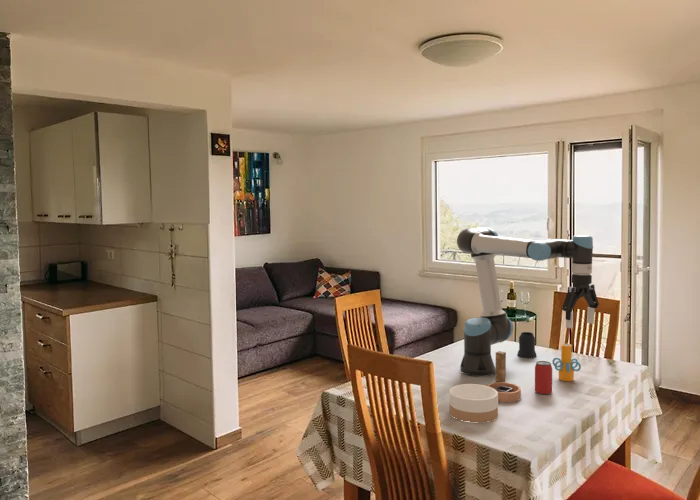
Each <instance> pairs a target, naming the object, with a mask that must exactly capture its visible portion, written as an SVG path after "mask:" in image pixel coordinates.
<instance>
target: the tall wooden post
mask: <svg viewBox="0 0 700 500" xmlns="http://www.w3.org/2000/svg"><path fill="white" fill-rule="evenodd" d="M506 353H507V351H501V350H498V351H496V352H495V383H496V382H506V381H507V380H506V379H507V378H506V377H507V374H506V373H507V368H506V367H507V365H506V364H507V363H506V362H507V354H506ZM506 383H507V382H506Z"/></svg>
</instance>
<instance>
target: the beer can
mask: <svg viewBox="0 0 700 500" xmlns="http://www.w3.org/2000/svg"><path fill="white" fill-rule="evenodd" d="M534 391H535V393H537V394H539V395H550V394H552V393H553V366H552V362H550V361H548V360H547V361H546V360H537V361H536V362H535V365H534Z"/></svg>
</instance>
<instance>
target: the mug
mask: <svg viewBox="0 0 700 500" xmlns="http://www.w3.org/2000/svg"><path fill="white" fill-rule="evenodd" d="M518 344H519V345H518V346H519V347H518V351H517V354H516V355H517V357H518V358H522V359H535V358H537V357H538V356H537V353H536V350H535V349H536V336H535V335H534V333H533V332H530V331H523V332H521V333H520V335H519V337H518Z"/></svg>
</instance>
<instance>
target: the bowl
mask: <svg viewBox="0 0 700 500" xmlns="http://www.w3.org/2000/svg"><path fill="white" fill-rule="evenodd" d="M448 392H449V394H448V395H449V396H448V397H449V399H448V400H449V403H448V404H449V415H450V414H451V415H452V416H453V417H455V418H457V419H460V420H463V421H462V422H464V421H470V422H485V423H488V422H487V421H490V422H493V421H495V420H496V419H497V418H498V415H499V401H498V392H497V391H496V390H495V389H493V388H491V387H488V386H487V385H483V384H479V383H477V384H476V383H461V384H457V385H454V386H452V387H450V389H449V391H448ZM451 415H450V416H451ZM452 416H451V417H452ZM453 417H452V418H453ZM455 418H454V419H455ZM457 419H456V420H457ZM494 419H495V420H494ZM460 420H459V421H460ZM492 420H493V421H492Z"/></svg>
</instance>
